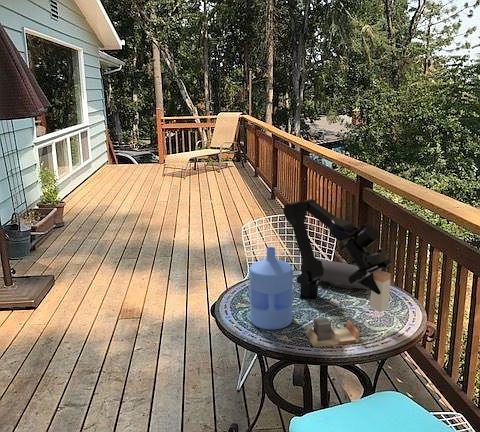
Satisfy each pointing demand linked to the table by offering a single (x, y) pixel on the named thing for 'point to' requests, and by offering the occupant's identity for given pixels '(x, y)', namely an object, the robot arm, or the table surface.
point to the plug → (383, 284)
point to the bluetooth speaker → (339, 274)
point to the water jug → (271, 292)
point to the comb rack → (331, 333)
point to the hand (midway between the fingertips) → (383, 291)
